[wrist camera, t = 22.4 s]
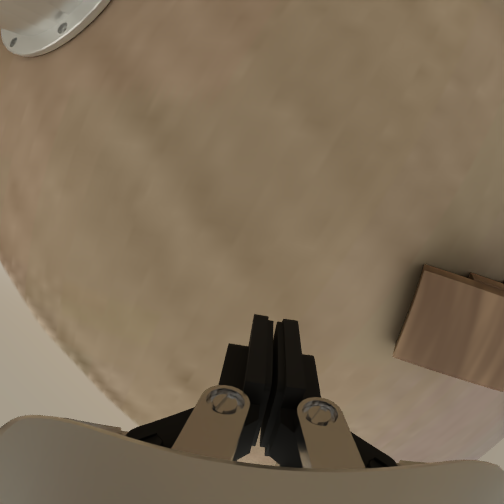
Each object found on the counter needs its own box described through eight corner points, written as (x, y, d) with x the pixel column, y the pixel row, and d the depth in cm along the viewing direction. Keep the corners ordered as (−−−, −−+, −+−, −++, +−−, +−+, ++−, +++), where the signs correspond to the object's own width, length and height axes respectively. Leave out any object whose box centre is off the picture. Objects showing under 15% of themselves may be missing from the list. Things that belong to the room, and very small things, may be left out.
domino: (392, 356, 18) (503, 391, 14) (424, 270, 16) (543, 311, 12) (395, 344, 19) (499, 378, 15) (424, 263, 18) (535, 302, 14)
